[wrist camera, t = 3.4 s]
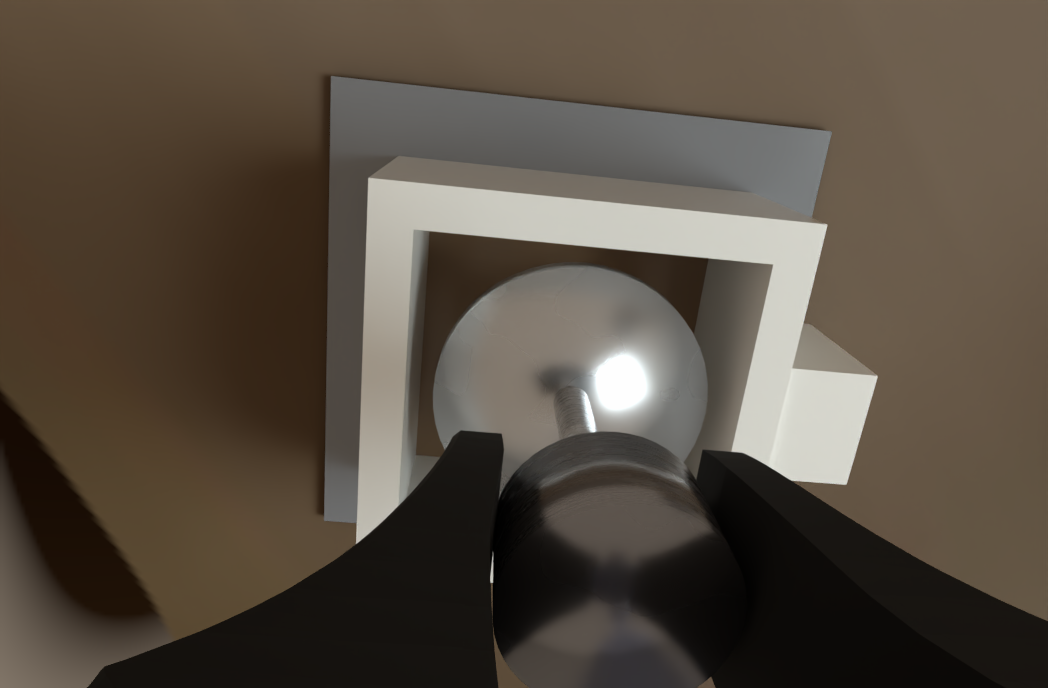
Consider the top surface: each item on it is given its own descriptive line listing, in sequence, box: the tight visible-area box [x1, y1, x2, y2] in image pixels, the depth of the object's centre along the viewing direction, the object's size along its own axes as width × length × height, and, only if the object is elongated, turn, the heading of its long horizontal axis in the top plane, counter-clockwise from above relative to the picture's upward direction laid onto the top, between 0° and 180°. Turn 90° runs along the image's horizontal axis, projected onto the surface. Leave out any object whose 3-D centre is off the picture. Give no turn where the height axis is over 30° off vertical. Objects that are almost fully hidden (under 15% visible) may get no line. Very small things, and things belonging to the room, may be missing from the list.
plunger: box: [433, 262, 747, 688], centre depth 12 cm, size 5×5×7 cm
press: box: [324, 76, 878, 583], centre depth 16 cm, size 11×11×4 cm
